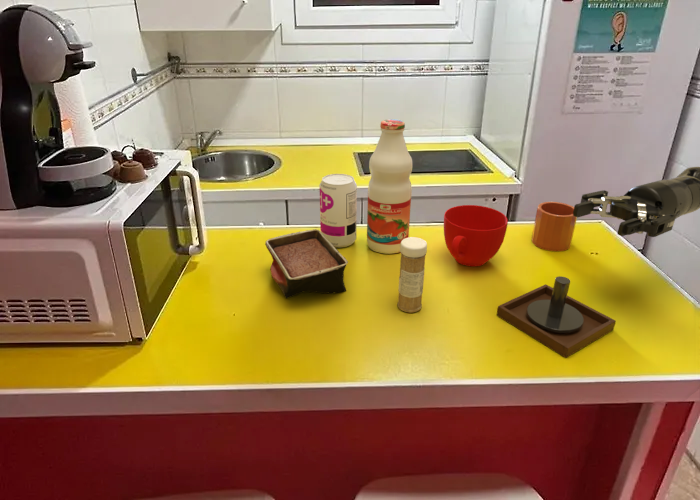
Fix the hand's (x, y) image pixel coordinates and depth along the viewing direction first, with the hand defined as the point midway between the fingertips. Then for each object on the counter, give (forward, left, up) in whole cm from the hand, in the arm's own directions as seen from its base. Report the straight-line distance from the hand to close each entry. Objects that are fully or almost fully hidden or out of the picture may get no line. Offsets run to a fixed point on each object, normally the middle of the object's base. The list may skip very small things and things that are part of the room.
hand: (597, 220), depth 85 cm
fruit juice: (+41, +11, -19) cm, 46 cm away
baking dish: (+37, +34, -19) cm, 53 cm away
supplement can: (+49, +19, -19) cm, 55 cm away
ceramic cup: (+25, +2, -19) cm, 31 cm away
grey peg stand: (+1, +5, -18) cm, 18 cm away
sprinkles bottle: (+19, +23, -19) cm, 35 cm away
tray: (+1, +5, -19) cm, 19 cm away
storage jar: (+21, -21, -19) cm, 35 cm away
